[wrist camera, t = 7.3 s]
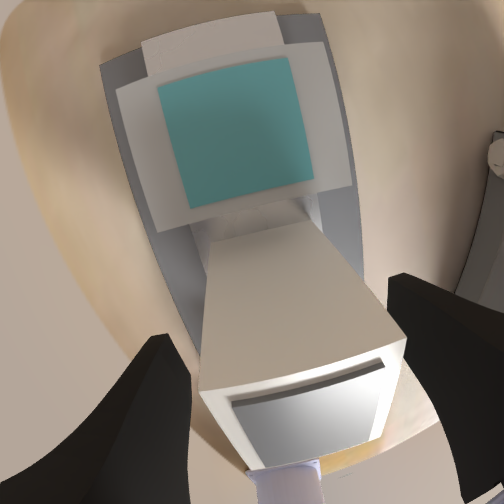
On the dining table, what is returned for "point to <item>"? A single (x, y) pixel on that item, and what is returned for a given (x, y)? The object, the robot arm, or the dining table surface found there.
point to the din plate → (181, 238)
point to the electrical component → (488, 239)
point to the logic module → (294, 348)
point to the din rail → (211, 45)
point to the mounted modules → (235, 132)
